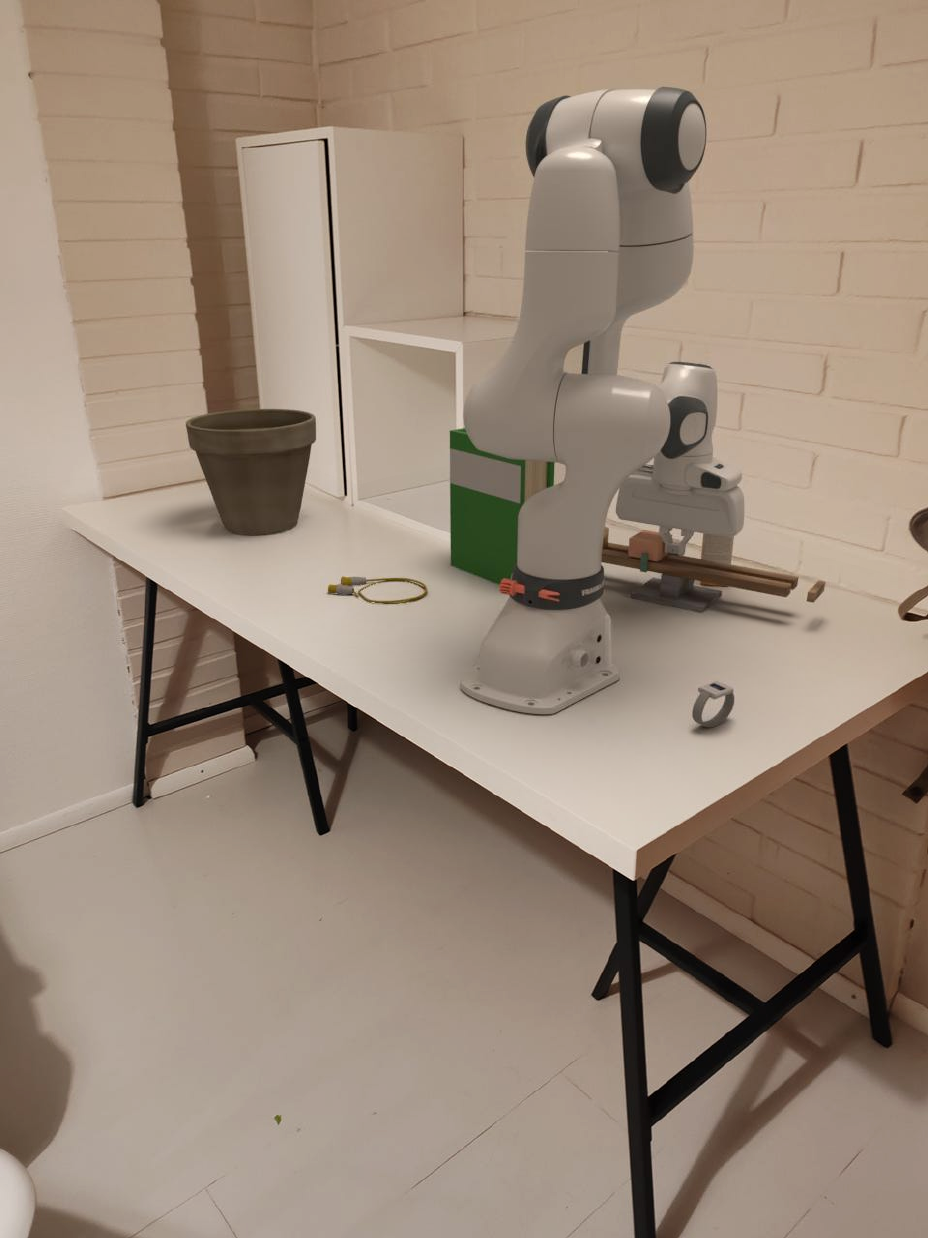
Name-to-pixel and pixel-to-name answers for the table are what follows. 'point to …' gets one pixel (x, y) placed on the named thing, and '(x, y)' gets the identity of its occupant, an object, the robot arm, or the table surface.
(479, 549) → the hardback book
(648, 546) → the block
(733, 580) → the balance scale
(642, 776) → the table surface
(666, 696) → the table surface
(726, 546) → the supplement box
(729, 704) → the wristwatch
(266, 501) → the plant pot
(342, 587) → the extension cord
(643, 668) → the table surface
